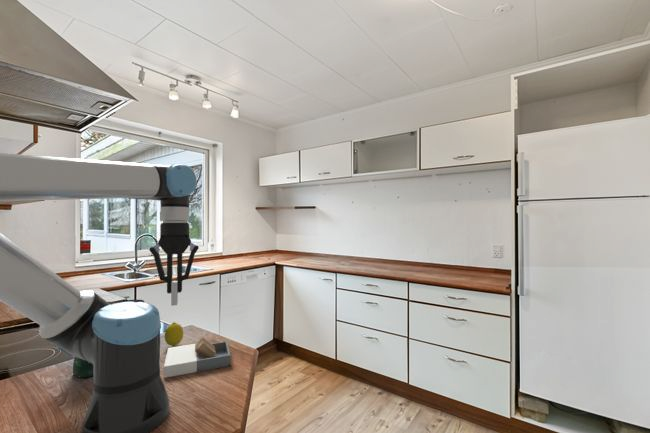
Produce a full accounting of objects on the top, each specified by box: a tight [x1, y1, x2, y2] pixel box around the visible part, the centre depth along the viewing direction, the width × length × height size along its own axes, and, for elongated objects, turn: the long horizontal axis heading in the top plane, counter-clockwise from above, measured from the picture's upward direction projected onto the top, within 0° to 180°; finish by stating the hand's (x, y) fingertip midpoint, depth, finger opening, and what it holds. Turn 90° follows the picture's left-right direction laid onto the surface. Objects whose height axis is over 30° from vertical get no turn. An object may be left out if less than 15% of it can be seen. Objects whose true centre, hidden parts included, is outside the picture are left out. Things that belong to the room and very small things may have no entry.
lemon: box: [164, 321, 184, 347], centre depth 100 cm, size 6×6×8 cm
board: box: [163, 343, 198, 379], centre depth 88 cm, size 13×8×3 cm, turn 23°
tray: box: [196, 340, 231, 373], centre depth 90 cm, size 11×9×3 cm
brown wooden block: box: [194, 336, 216, 359], centre depth 90 cm, size 5×5×3 cm
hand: (174, 304), depth 87 cm, fingers closed
